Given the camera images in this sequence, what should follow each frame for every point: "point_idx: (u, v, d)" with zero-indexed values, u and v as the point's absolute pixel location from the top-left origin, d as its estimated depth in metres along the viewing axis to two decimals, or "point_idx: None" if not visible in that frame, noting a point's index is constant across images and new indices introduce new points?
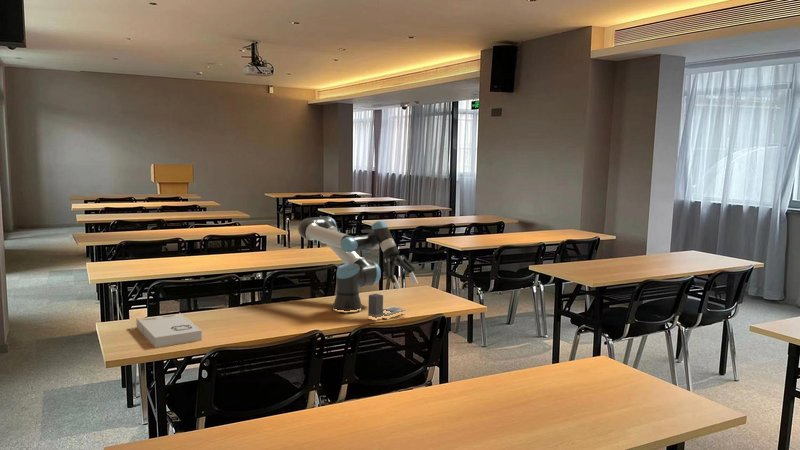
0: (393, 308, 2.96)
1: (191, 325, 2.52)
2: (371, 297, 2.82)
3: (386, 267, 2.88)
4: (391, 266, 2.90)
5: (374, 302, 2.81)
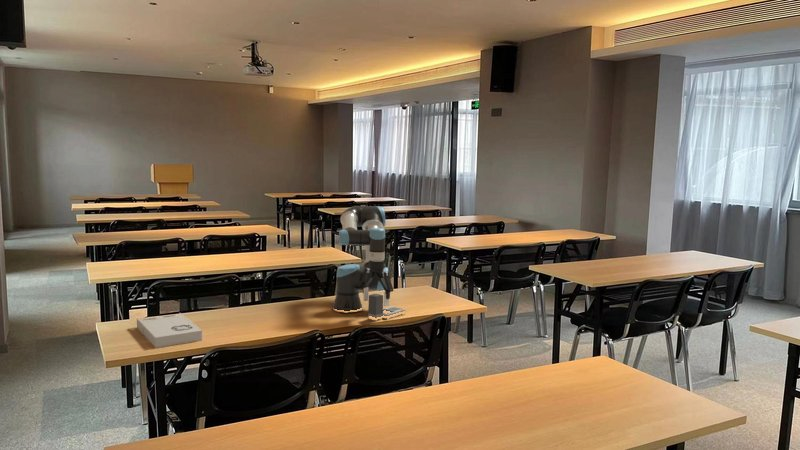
0: (393, 308, 2.96)
1: (191, 325, 2.52)
2: (371, 297, 2.82)
3: None
4: None
5: (375, 302, 2.81)
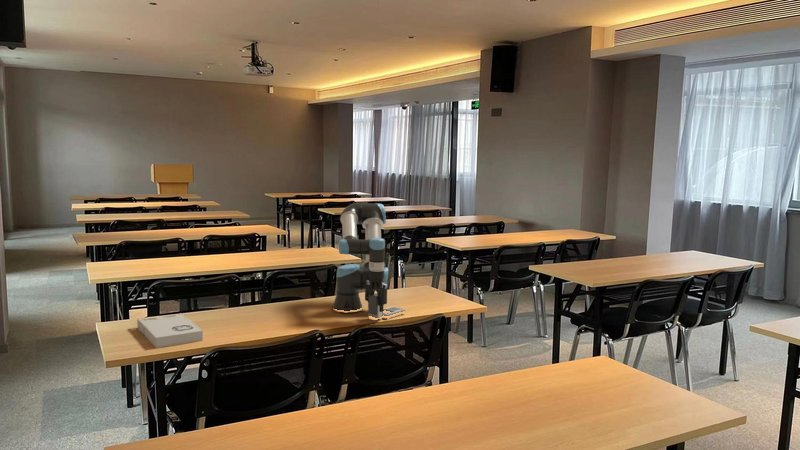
0: (393, 308, 2.96)
1: (192, 325, 2.52)
2: (371, 297, 2.82)
3: None
4: None
5: (374, 302, 2.81)
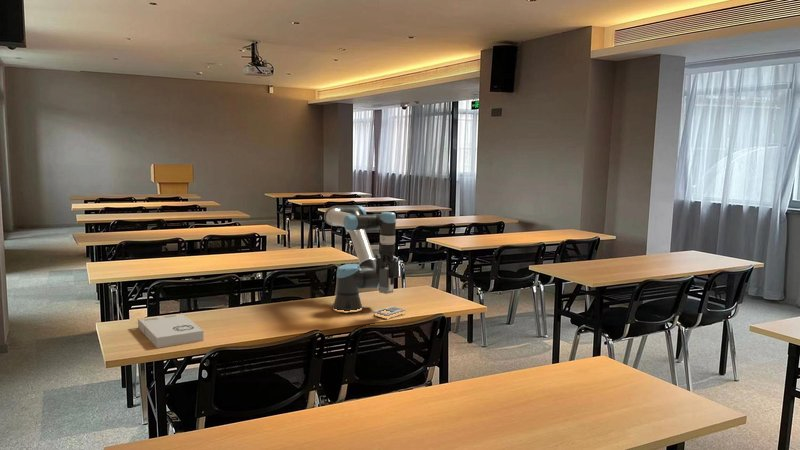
0: (393, 308, 2.96)
1: (193, 325, 2.52)
2: (382, 270, 2.86)
3: None
4: None
5: (385, 275, 2.85)
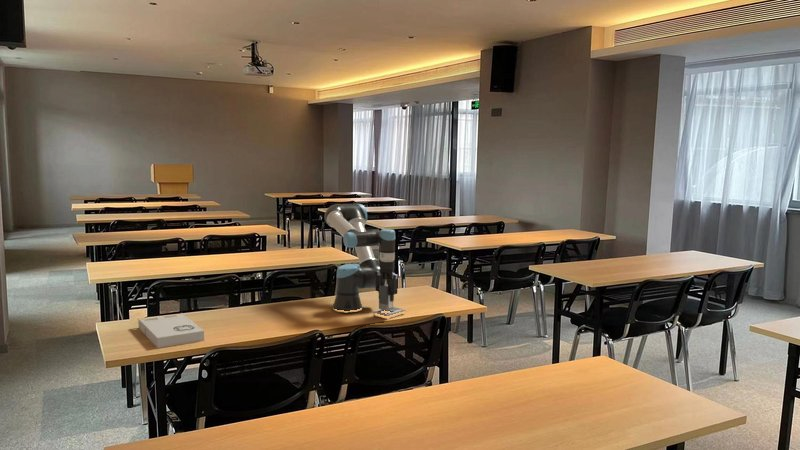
0: (393, 308, 2.96)
1: (193, 325, 2.52)
2: (382, 287, 2.87)
3: None
4: None
5: (385, 292, 2.86)
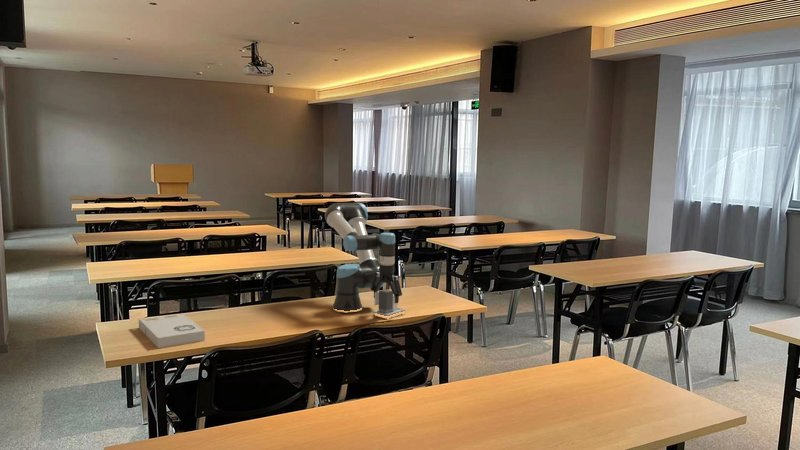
0: None
1: (194, 325, 2.52)
2: (381, 293, 2.88)
3: None
4: None
5: (385, 297, 2.86)
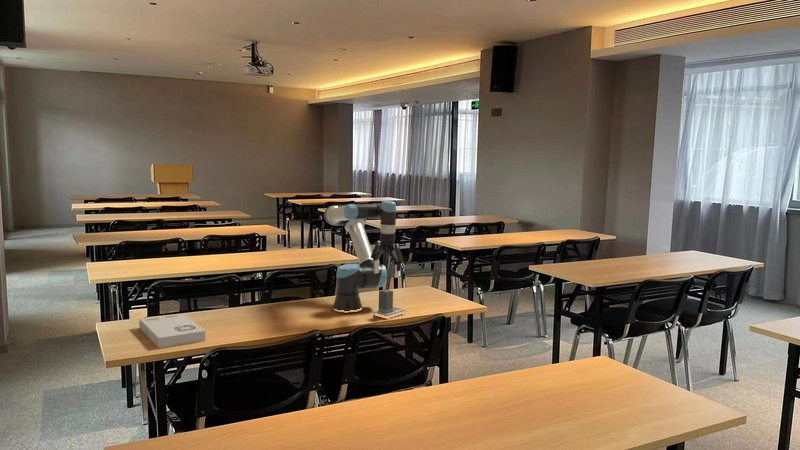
0: (393, 308, 2.96)
1: (194, 325, 2.52)
2: (381, 293, 2.88)
3: None
4: None
5: (385, 297, 2.86)
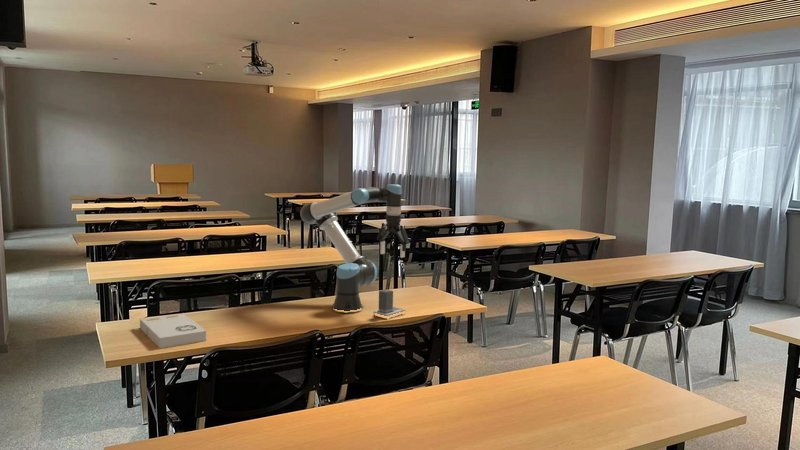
0: (393, 308, 2.96)
1: (195, 325, 2.52)
2: (381, 293, 2.88)
3: None
4: None
5: (385, 297, 2.86)
